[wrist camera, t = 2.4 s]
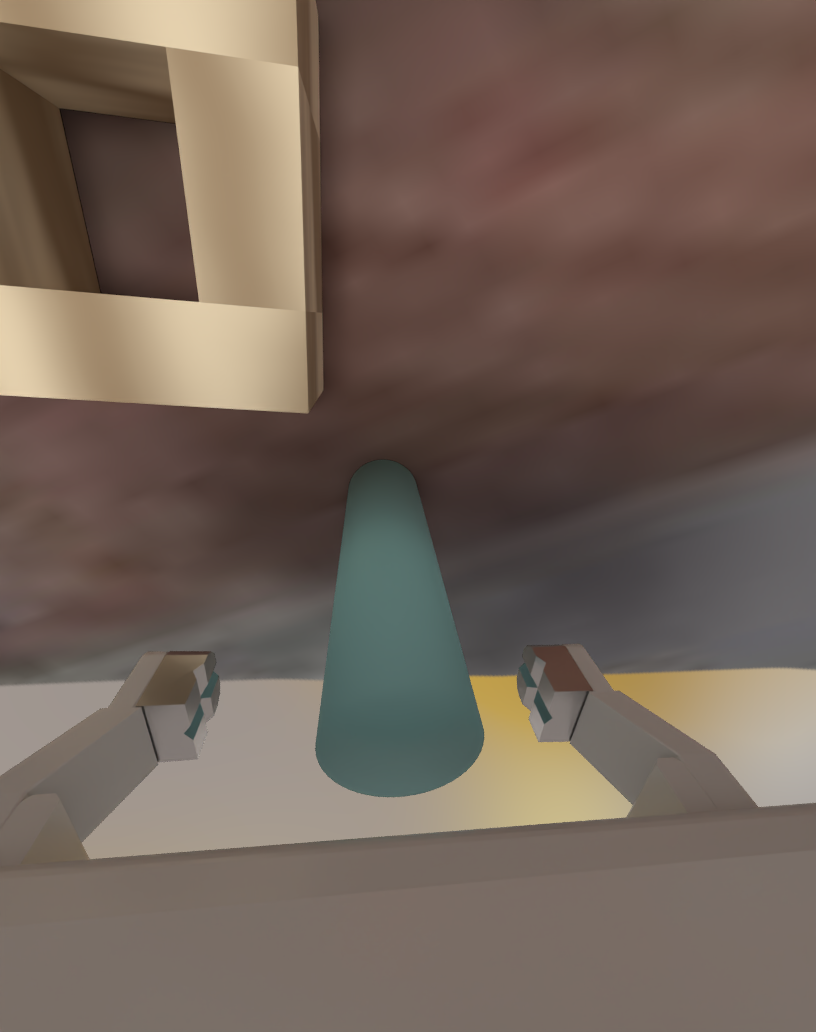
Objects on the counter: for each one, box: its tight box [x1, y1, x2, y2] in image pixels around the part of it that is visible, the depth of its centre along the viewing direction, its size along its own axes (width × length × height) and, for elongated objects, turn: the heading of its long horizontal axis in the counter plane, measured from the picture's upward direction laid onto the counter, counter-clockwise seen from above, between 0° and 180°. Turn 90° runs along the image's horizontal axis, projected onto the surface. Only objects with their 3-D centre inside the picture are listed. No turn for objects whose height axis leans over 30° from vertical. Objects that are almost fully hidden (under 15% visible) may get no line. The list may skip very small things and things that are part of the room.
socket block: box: [0, 0, 323, 413], centre depth 13 cm, size 12×12×5 cm
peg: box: [315, 460, 484, 797], centre depth 15 cm, size 4×4×14 cm
